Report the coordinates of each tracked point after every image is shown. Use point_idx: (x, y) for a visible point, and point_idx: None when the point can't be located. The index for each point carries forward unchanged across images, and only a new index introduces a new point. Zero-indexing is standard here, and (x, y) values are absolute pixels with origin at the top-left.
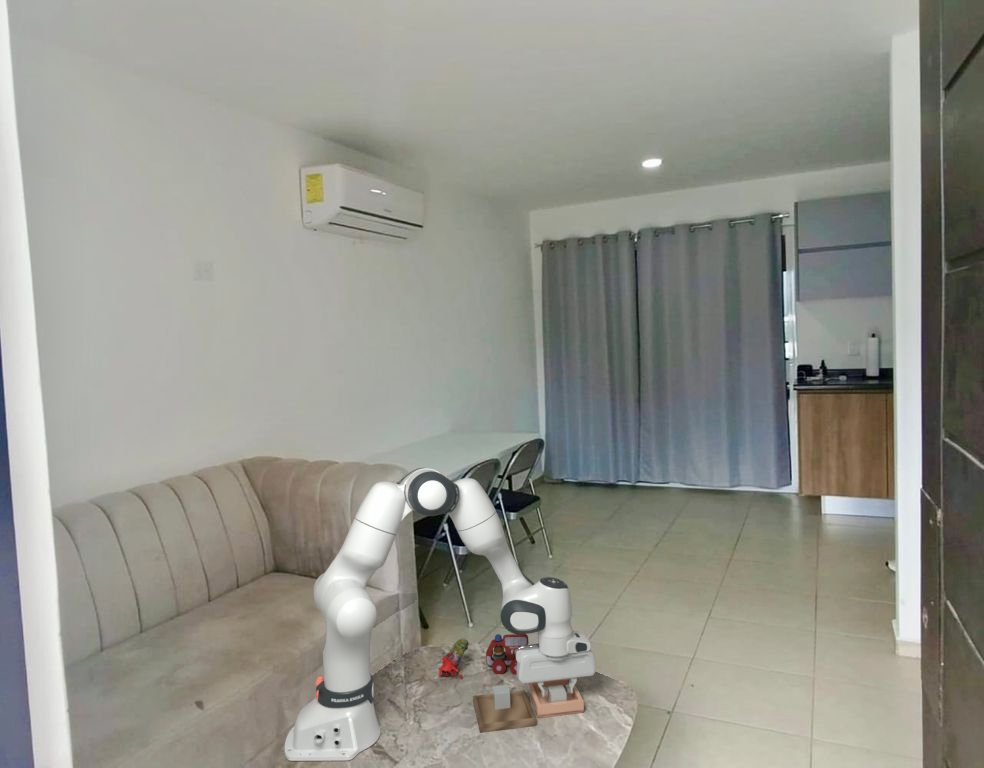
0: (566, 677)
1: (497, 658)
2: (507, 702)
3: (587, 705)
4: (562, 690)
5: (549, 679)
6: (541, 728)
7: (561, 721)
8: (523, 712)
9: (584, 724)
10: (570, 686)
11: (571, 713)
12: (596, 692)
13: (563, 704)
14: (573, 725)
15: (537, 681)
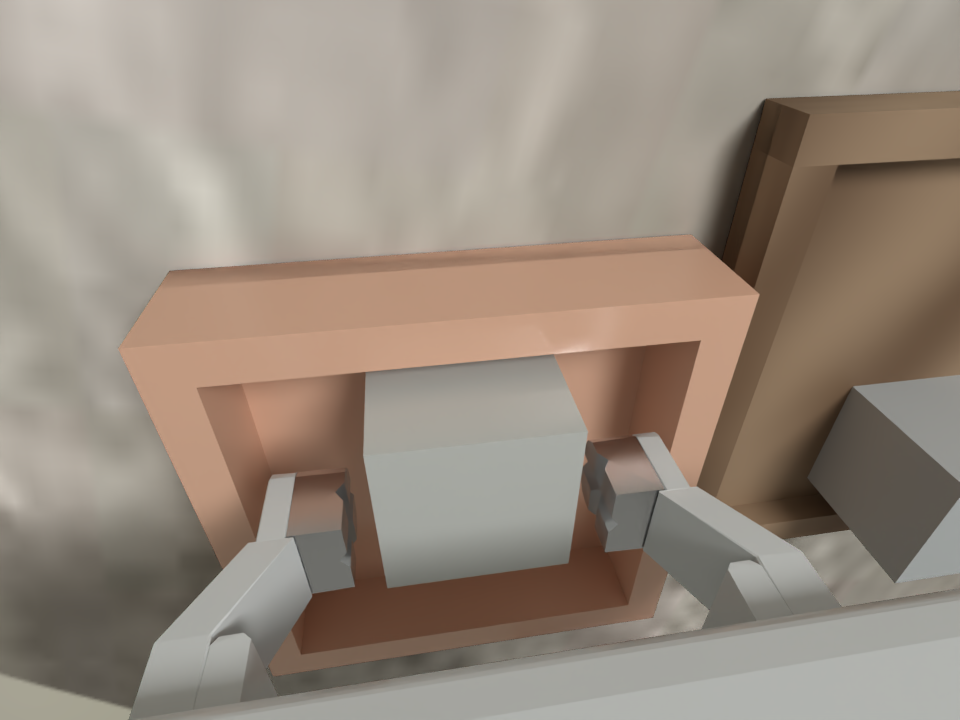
0: (341, 714)
1: None
2: (913, 417)
3: (133, 384)
4: (408, 504)
5: (696, 655)
6: (736, 28)
7: (464, 136)
8: (794, 315)
9: (156, 2)
10: (286, 556)
11: (322, 262)
12: (53, 542)
13: (419, 317)
14: (323, 10)
15: (904, 608)
